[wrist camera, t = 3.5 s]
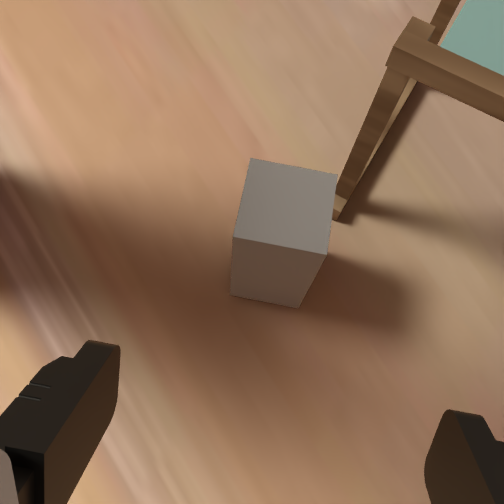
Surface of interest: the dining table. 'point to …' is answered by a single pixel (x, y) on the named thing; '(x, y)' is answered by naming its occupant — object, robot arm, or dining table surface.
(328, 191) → the granite block
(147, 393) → the dining table surface
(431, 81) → the frame
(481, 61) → the trapdoor
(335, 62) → the dining table surface
